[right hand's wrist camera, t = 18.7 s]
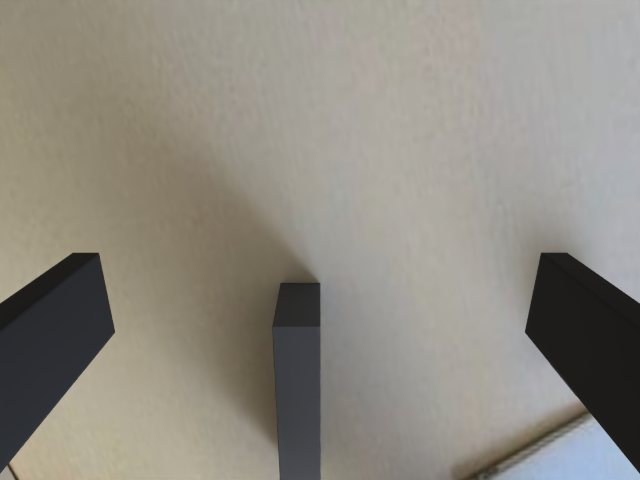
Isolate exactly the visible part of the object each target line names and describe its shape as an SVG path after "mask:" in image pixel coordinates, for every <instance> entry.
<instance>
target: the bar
mask: <svg viewBox="0 0 640 480" xmlns="http://www.w3.org/2000/svg"><path fill="white" fill-rule="evenodd" d="M272 328H273V348H274V368H275V388H276V408H277V429H278V449H279V469H280V480H321V416H320V283H281V285H280V290H279V295H278V300H277V306H276V311H275V316H274V321H273V327H272Z"/></svg>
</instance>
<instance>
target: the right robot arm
mask: <svg viewBox="0 0 640 480" xmlns="http://www.w3.org/2000/svg"><path fill="white" fill-rule="evenodd" d="M114 333H115V329H114V324H113V319H112V315H111V310H110V305H109V300H108V295H107V290H106V285H105V280H104V276H103V271H102V266H101V261H100V256H99V253H72V254H71V255H69V256H68V257H66V258H65V259H63V260H62V261H61V262H59V263H58V264H56V265H55V266H53V267H52V268H51V269H49V270H48V271H46V272H45V273H43V274H42V275H40V276H39V277H38V278H36V279H35V280H33V281H32V282H30V283H29V284H28V285H26V286H25V287H23V288H22V289H20V290H19V291H18V292H16V293H15V294H13V295H12V296H10V297H9V298H8V299H6V300H5V301H3V302H2V303H0V473H1V472H2V471H3V469H4V468H5V467H6V466H7V465H8V463H9V462H10V461H11V460H12V458H13V457H14V456H15V455H16V453H17V452H18V451H19V450H20V449H21V447H22V446H23V445H24V444H25V442H26V441H27V440H28V439H29V437H30V436H31V435H32V434H33V433H34V431H35V430H36V429H37V428H38V426H39V425H40V424H41V423H42V422H43V420H44V419H45V418H46V417H47V415H48V414H49V413H50V412H51V410H52V409H53V408H54V407H55V406H56V404H57V403H58V402H59V401H60V399H61V398H62V397H63V396H64V394H65V393H66V392H67V391H68V390H69V388H70V387H71V386H72V385H73V383H74V382H75V381H76V380H77V378H78V377H79V376H80V375H81V374H82V372H83V371H84V370H85V369H86V367H87V366H88V365H89V364H90V363H91V361H92V360H93V359H94V358H95V356H96V355H97V354H98V353H99V351H100V350H101V349H102V348H103V347H104V345H105V344H106V343H107V342H108V340H109V339H110V338H111V337H112V335H113V334H114ZM525 333H526V334H527V335H528V337H529V338H530V339H531V340H532V342H533V343H534V344H535V345H536V347H537V348H538V349H539V350H540V351H541V353H542V354H543V355H544V356H545V358H546V359H547V360H548V361H549V363H550V364H551V365H552V366H553V367H554V369H555V370H556V371H557V372H558V374H559V375H560V376H561V377H562V378H563V380H564V381H565V382H566V383H567V385H568V386H569V387H570V388H571V390H572V391H573V392H574V393H575V394H576V396H577V397H578V398H579V399H580V401H581V402H582V403H583V404H584V406H585V407H586V408H587V409H588V410H589V412H590V413H591V414H592V415H593V417H594V418H595V419H596V420H597V422H598V423H599V424H600V425H601V426H602V428H603V429H604V430H605V431H606V433H607V434H608V435H609V436H610V437H611V439H612V440H613V441H614V442H615V444H616V445H617V446H618V447H619V449H620V450H621V451H622V452H623V453H624V455H625V456H626V457H627V458H628V460H629V461H630V462H631V463H632V465H633V466H634V467H635V468H636V469H637V471H638V472H639V473H640V303H638V302H637V301H635V300H634V299H632V298H631V297H630V296H628V295H627V294H625V293H624V292H622V291H621V290H620V289H618V288H617V287H615V286H614V285H612V284H611V283H610V282H608V281H607V280H605V279H604V278H602V277H601V276H600V275H598V274H597V273H595V272H594V271H592V270H591V269H589V268H588V267H587V266H585V265H584V264H582V263H581V262H579V261H578V260H577V259H575V258H574V257H572V256H571V255H569V254H568V253H541V256H540V261H539V266H538V271H537V276H536V280H535V285H534V290H533V295H532V300H531V305H530V310H529V315H528V319H527V324H526V329H525Z"/></svg>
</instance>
